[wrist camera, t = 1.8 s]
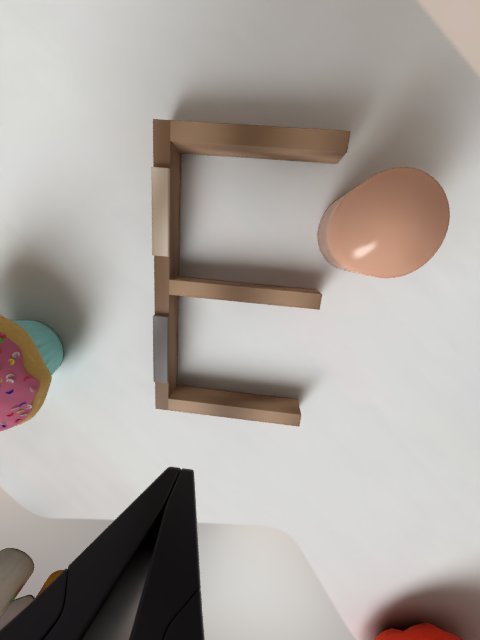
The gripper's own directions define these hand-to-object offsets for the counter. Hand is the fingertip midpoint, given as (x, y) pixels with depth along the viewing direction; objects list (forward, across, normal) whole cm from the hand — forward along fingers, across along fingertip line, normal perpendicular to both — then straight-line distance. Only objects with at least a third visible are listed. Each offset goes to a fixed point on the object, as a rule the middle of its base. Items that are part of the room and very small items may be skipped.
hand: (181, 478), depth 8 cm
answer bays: (+12, -1, -4) cm, 13 cm away
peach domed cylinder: (+12, -8, -9) cm, 17 cm away
